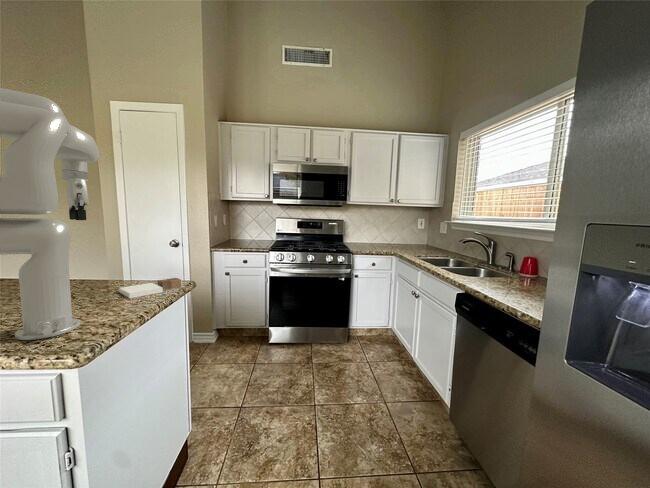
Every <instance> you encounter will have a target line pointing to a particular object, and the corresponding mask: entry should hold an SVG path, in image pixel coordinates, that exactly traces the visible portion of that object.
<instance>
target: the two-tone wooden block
mask: <svg viewBox="0 0 650 488" xmlns="http://www.w3.org/2000/svg"><path fill="white" fill-rule="evenodd" d="M157 285H158V286H160V287H163V291H167V290H172V288H173V289H177V288H176V287H178V288H182V287H183V279H181V278H178V277H172V278H171V277H170V278H164V279H159V280H157Z"/></svg>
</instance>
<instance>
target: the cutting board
mask: <svg viewBox="0 0 650 488" xmlns="http://www.w3.org/2000/svg"><path fill="white" fill-rule="evenodd" d="M118 290H119V291H118V292H119V293H120V294H121V295H122V296H125V297H127V298H129V299H132V298H138V297H144V296H148V295H153V294H161V293H163V291H164V290H163V287H160V286H158V284H157V283H156V284H155V283H152V282H147V283H142V284H136V285H130V286H124V287H119V288H118Z"/></svg>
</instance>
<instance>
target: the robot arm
mask: <svg viewBox="0 0 650 488" xmlns="http://www.w3.org/2000/svg"><path fill="white" fill-rule="evenodd" d="M0 138H3V139H11V140H14V141H13V142H12V143H10V144H9V145H8V146H7V147H6V149H5V150H4V151H3V152H2V155H1V156H2V157H1V158H2V159H1V160H2V163H3V170H4V175H0V215H31V216H32V215H33V216H35V215H48V214H49V215H50V214H53V213H55V212H57V210H58V209H59V192H58V184H57V178H56V173H55V159H56V160H60V171H61V179H62V180H63V181H64V180H65V185H66V186H65V188H66V189H65V190H66V201H67V204H68V205H69V207H68V215H69V220H71V221H87V210H86V206H89V205H90V202H89V193H88V185H87V182H89V174H88V173H89V171H88V169H89V168H88V163H95V162H98V161H99V158H100V151H99V147H98V145H97V142H96V140H95V139H94V138H93V136H92V135H90V134H89V133H87V132H85V131H84V130H81V129H79V128H78V127H75V126H74V125H71V124H70V123H69V121H68V119H67V117H66V116H65V114H64V112H63V110H62V109H61V107H60V106H59V104H57V103H56V102H55V101H54V100H52V99H50V98H48V97H45V96H42V95H38V94H34V93H29V92H28V93H27V92H23V91H18V90H15V89H13V90H12V89H9V88H2V87H0ZM71 239H72V230H71V227H70V226H69V225H68V224H67V223H66V222H64V221H62V220H59V219H55V218H45V217H44V218H43V217H38V218H37V217H36V218H35V217H0V255H1V256H4V255H5V256H6V255H31V256H30V258H29V259H27V260H26V261H25V262H24V263H23V264H22V265H21V266H20V268H19V270H18V282H19V295H20V296H19V297H20V304H21V305H20V306H21V317H22V318H21V319H22V327H21V328H19V329H18V330H16V331H15V332H14V338H15V339H16V340H19V341H20V340H21V341H33V340H35V341H36V340H42V339H48V338H52V337H56V336H60V335H62V334H66V333H68V332H69V333H70V331H73V330H76V329H77V328H78V327H80V324H81V321H80V319H78V318H74V317H73V309H72V296H71V295H72V294H71V283H70V282H71V281H70V267H69V266H70V265H69V263H70V262H69V261H70V260H69V259H70V258H69V256H70V249H71V247H70V246H71V241H72V240H71Z"/></svg>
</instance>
